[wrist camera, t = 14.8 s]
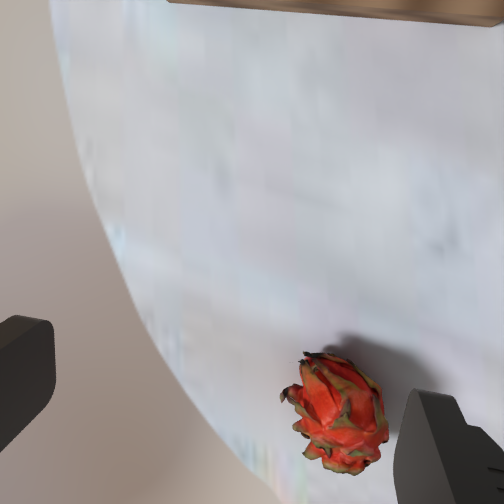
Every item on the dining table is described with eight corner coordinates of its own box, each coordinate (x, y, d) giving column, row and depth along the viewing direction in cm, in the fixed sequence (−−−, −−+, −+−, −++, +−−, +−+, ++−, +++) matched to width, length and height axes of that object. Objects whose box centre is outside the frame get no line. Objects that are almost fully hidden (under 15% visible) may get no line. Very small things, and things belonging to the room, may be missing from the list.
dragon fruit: (355, 432, 44) (308, 327, 43) (430, 444, 37) (376, 320, 36) (302, 490, 38) (248, 371, 38) (379, 516, 32) (315, 372, 31)
